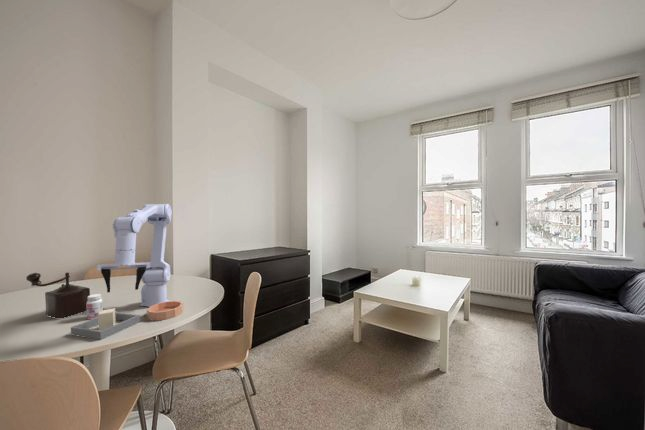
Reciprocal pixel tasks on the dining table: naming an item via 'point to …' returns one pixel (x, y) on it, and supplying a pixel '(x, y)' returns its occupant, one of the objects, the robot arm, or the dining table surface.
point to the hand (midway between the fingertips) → (122, 290)
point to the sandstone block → (106, 319)
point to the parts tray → (97, 334)
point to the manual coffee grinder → (63, 297)
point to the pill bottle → (94, 306)
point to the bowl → (165, 310)
